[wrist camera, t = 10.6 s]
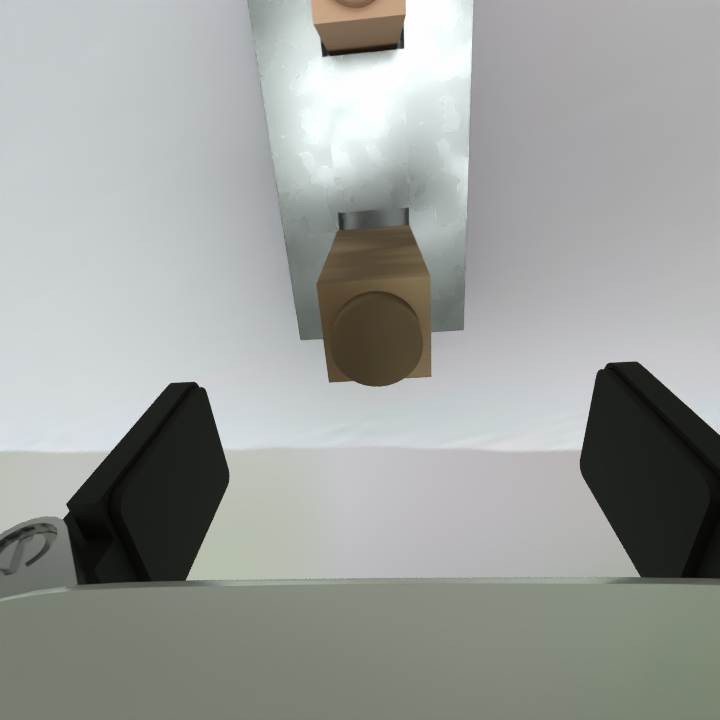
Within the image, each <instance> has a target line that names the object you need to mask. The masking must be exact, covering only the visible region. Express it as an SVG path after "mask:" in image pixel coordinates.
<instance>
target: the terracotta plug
mask: <svg viewBox="0 0 720 720" xmlns="http://www.w3.org/2000/svg"><path fill="white" fill-rule="evenodd" d="M311 8H312V17H313V25H314V27H315V29H316V30H317V32H318V34H319V36H320V38H321V40H322V42H323V44H324V46H325V47H326V49H327V51H328V53H329V55H330V56H338V55H348V54H358V53H367V52H377V51H387V50H397V48H398V44H399V40H400V36H401V32H402V28H403V24H404V20H405V17H406V0H311Z"/></svg>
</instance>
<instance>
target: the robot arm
mask: <svg viewBox="0 0 720 720" xmlns="http://www.w3.org/2000/svg"><path fill="white" fill-rule="evenodd" d="M580 470H581V473H582V476H583V478H584V480H585V481H586V483H587V485H588V487H589V488H590V490H591V492H592V493H593V495H594V497H595V499H596V500H597V502H598V504H599V506H600V507H601V509H602V511H603V512H604V514H605V516H606V517H607V519H608V521H609V523H610V524H611V526H612V528H613V530H614V531H615V533H616V535H617V537H618V538H619V540H620V542H621V544H622V545H623V547H624V549H625V550H626V552H627V554H628V555H629V557H630V559H631V560H632V563H633V564H634V566H635V568H636V569H637V571H638V573H639V575H640V576H641V577H567V578H566V577H559V578H558V577H555V578H554V577H542V578H541V577H540V578H539V577H538V578H537V577H533V578H530V577H526V578H525V577H524V578H523V577H519V578H518V577H516V578H515V577H514V578H508V577H506V578H360V579H359V578H355V579H354V578H353V579H270V580H269V579H266V580H197V581H194V580H193V581H185V580H186V578H187V576H188V574H189V571H190V569H191V567H192V565H193V563H194V560H195V558H196V556H197V553H198V551H199V549H200V547H201V544H202V542H203V540H204V538H205V535H206V533H207V531H208V529H209V527H210V524H211V522H212V520H213V518H214V515H215V513H216V511H217V509H218V506H219V504H220V502H221V500H222V497H223V495H224V493H225V491H226V488H227V486H228V483H229V469H228V466H227V462H226V459H225V455H224V452H223V448H222V445H221V441H220V438H219V434H218V431H217V427H216V424H215V420H214V417H213V413H212V410H211V406H210V403H209V399H208V396H207V392H206V390H205V389H204V388H203V387H199V386H198V384H197V383H195V382H182V383H171V384H169V385H168V386H167V387H166V389H165V390H164V391H163V392H162V393H161V394H160V396H159V397H158V398H157V399H156V400H155V401H154V403H153V404H152V405H151V406H150V407H149V408H148V410H147V411H146V412H145V413H144V414H143V415H142V417H141V418H140V419H139V420H138V421H137V422H136V424H135V425H134V426H133V427H132V428H131V429H130V431H129V432H128V433H127V434H126V435H125V436H124V437H123V439H122V440H121V441H120V442H119V443H118V444H117V446H116V447H115V448H114V449H113V450H112V451H111V453H110V454H109V455H108V456H107V458H105V460H104V461H103V462H102V463H101V464H100V465H99V467H98V468H97V469H96V470H95V471H94V472H93V474H92V475H91V476H90V477H89V478H88V479H87V480H86V482H85V483H84V484H83V485H82V486H81V487H80V489H79V490H78V491H77V492H76V493H75V494H74V496H73V497H72V498H71V499H70V500H69V501H68V503H67V504H66V505H67V507H68V509H69V513H68V514H67V515H66V516H65V517H64V519H63V520H62V519H59V518H57V517H40V518H35V519H31V520H28V521H26V522H23V523H20V524H18V525H16V526H14V527H12V528H10V529H8V530H6V531H5V532H3V533H2V534H0V720H720V435H719V434H718V433H717V432H716V431H714V430H713V429H712V428H711V427H710V426H709V425H708V424H707V423H706V422H704V421H703V420H702V419H701V418H700V417H699V416H698V415H697V414H696V413H694V412H693V411H692V410H691V409H690V408H689V407H688V406H687V405H685V404H684V403H683V402H682V401H681V400H680V399H679V398H678V397H677V396H675V395H674V394H673V393H672V392H671V391H670V390H669V389H668V388H667V387H665V386H664V385H663V384H662V383H661V382H660V381H659V380H658V379H657V378H655V377H654V376H653V375H652V374H651V373H650V372H649V371H648V370H647V369H645V368H644V367H643V366H642V365H641V364H640V363H638V362H617V363H608V364H607V365H606V367H605V368H604V369H600V370H599V371H598V373H597V375H596V380H595V385H594V390H593V396H592V401H591V406H590V411H589V416H588V421H587V427H586V432H585V437H584V442H583V447H582V452H581V458H580Z"/></svg>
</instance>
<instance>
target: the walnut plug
mask: <svg viewBox="0 0 720 720" xmlns="http://www.w3.org/2000/svg"><path fill="white" fill-rule="evenodd" d="M316 286H317V294H318V302H319V309H320V317H321V325H322V333H323V340H324V348H325V356H326V363H327V371H328V379H329V382H347V381H355V382H357V383H360V384H363V385H367V386H386V385H391V384H394V383H396V382H398V381H400V380H402V379H404V378H418V377H431V276H430V274H429V271H428V269H427V266H426V264H425V262H424V259H423V257H422V254H421V252H420V249H419V247H418V245H417V242H416V240H415V237H414V235H413V232H412V230H411V228H410V225H405V226H392V227H379V228H366V229H353V230H340V231H337V233H336V236H335V238H334V241H333V243H332V246H331V248H330V251H329V253H328V256H327V258H326V261H325V263H324V266H323V268H322V271H321V273H320V276H319V278H318V281H317V283H316Z"/></svg>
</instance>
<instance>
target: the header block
mask: <svg viewBox="0 0 720 720" xmlns="http://www.w3.org/2000/svg"><path fill="white" fill-rule="evenodd" d="M248 6H249V13H250V19H251V26H252V32H253V38H254V45H255V51H256V58H257V64H258V71H259V77H260V83H261V90H262V96H263V103H264V109H265V115H266V122H267V128H268V135H269V141H270V147H271V154H272V160H273V167H274V173H275V180H276V186H277V192H278V199H279V205H280V212H281V218H282V224H283V231H284V237H285V244H286V250H287V256H288V263H289V269H290V276H291V282H292V289H293V295H294V301H295V308H296V314H297V321H298V327H299V333H300V340H311V339H323V333H322V325H321V317H320V309H319V302H318V294H317V286H316V283H317V281H318V278H319V276H320V273H321V271H322V268H323V266H324V263H325V261H326V258H327V256H328V253H329V251H330V248H331V246H332V243H333V241H334V238H335V236H336V233H337V231H340V230H353V229H366V228H379V227H392V226H405V225H410V228H411V230H412V232H413V235H414V237H415V240H416V242H417V245H418V247H419V249H420V252H421V254H422V257H423V259H424V262H425V264H426V266H427V269H428V271H429V274H430V276H431V332H440V331H456V330H463V329H464V295H465V261H466V227H467V193H468V160H469V126H470V92H471V58H472V24H473V0H406V17H405V20H404V24H403V28H402V32H401V36H400V40H399V44H398V48H397V50H387V51H377V52H367V53H358V54H348V55H338V56H330V55H329V53H328V51H327V49H326V47H325V46H324V44H323V42H322V40H321V38H320V36H319V34H318V32H317V30H316V29H315V27H314V25H313V17H312V8H311V0H248Z"/></svg>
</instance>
